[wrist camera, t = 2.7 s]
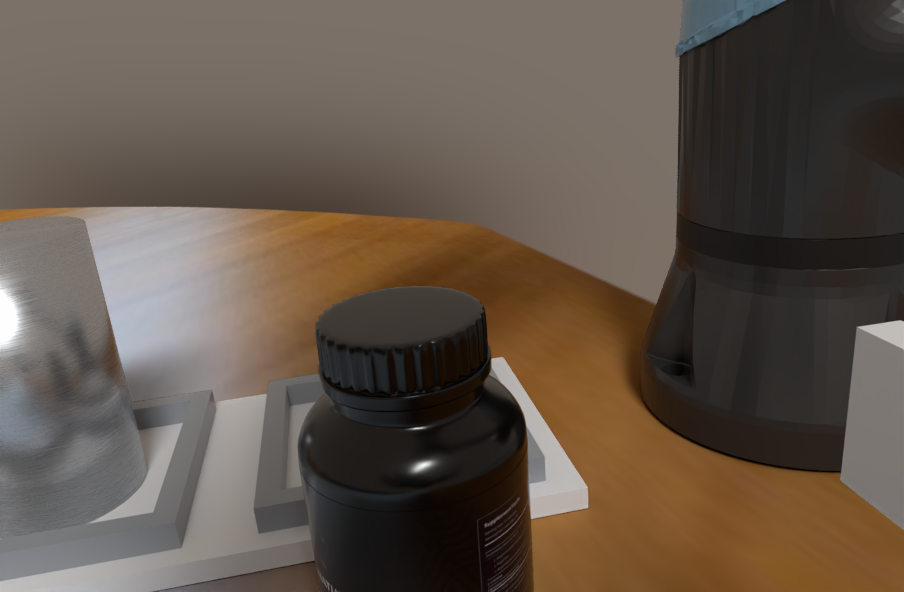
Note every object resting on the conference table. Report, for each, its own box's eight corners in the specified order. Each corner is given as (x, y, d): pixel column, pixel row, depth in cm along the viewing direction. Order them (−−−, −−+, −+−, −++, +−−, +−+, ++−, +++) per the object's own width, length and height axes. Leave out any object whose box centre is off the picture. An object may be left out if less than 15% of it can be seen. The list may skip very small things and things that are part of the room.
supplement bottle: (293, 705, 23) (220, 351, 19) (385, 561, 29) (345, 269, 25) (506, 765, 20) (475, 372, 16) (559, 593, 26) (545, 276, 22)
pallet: (503, 372, 44) (501, 338, 43) (588, 508, 31) (587, 462, 30) (-36, 458, 39) (-49, 421, 38) (-208, 660, 26) (-232, 611, 25)
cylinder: (88, 438, 38) (25, 213, 34) (179, 467, 34) (120, 220, 30) (-54, 514, 32) (-150, 255, 28) (38, 558, 29) (-57, 270, 25)
